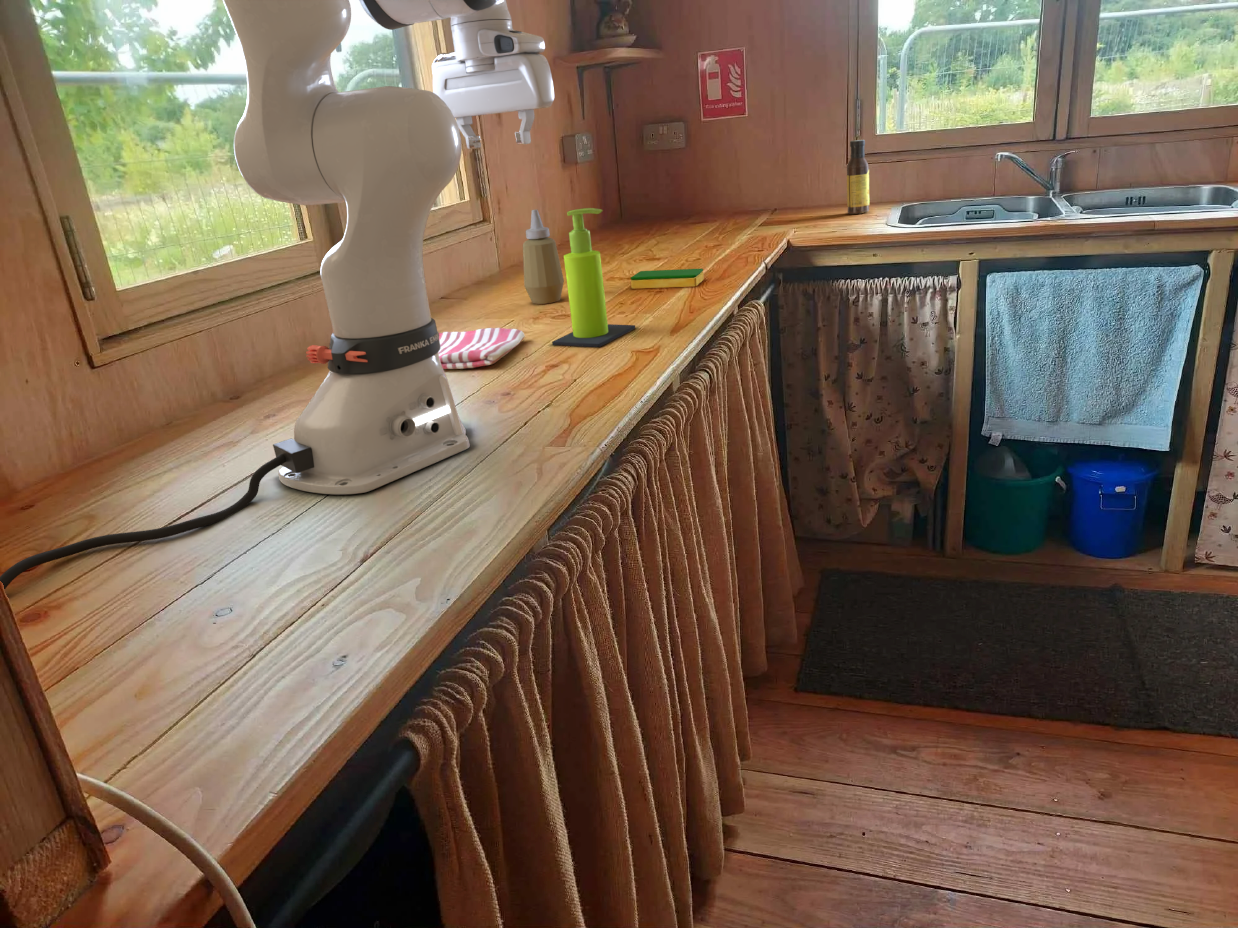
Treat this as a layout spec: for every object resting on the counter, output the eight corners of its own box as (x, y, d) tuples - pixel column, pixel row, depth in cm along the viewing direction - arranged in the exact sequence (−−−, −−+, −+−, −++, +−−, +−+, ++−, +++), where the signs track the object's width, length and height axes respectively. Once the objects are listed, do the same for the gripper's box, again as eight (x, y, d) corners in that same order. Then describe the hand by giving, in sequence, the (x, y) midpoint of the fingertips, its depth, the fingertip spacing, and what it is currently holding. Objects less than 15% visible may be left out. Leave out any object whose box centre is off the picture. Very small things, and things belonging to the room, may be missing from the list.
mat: (599, 347, 138) (598, 343, 138) (552, 345, 143) (551, 341, 142) (635, 328, 148) (635, 325, 147) (590, 327, 152) (590, 323, 152)
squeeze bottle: (574, 297, 178) (563, 206, 171) (550, 306, 172) (538, 212, 165) (542, 296, 182) (531, 207, 175) (518, 305, 176) (505, 213, 169)
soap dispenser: (610, 337, 141) (597, 209, 134) (569, 338, 143) (553, 213, 135) (617, 328, 147) (605, 205, 139) (578, 329, 148) (563, 208, 141)
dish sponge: (640, 282, 186) (639, 270, 185) (704, 279, 182) (703, 268, 181) (630, 289, 180) (629, 277, 179) (696, 287, 175) (695, 275, 175)
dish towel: (398, 347, 152) (395, 327, 151) (527, 340, 147) (524, 320, 146) (355, 376, 136) (350, 354, 135) (497, 369, 132) (494, 347, 131)
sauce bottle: (873, 212, 251) (874, 139, 244) (856, 215, 249) (856, 141, 241) (859, 211, 257) (860, 139, 249) (842, 213, 254) (842, 141, 247)
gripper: (416, 55, 130) (433, 153, 135) (528, 37, 120) (541, 143, 125) (443, 54, 135) (458, 149, 140) (553, 37, 125) (565, 140, 130)
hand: (498, 146), depth 132 cm, fingers open, 8 cm apart
